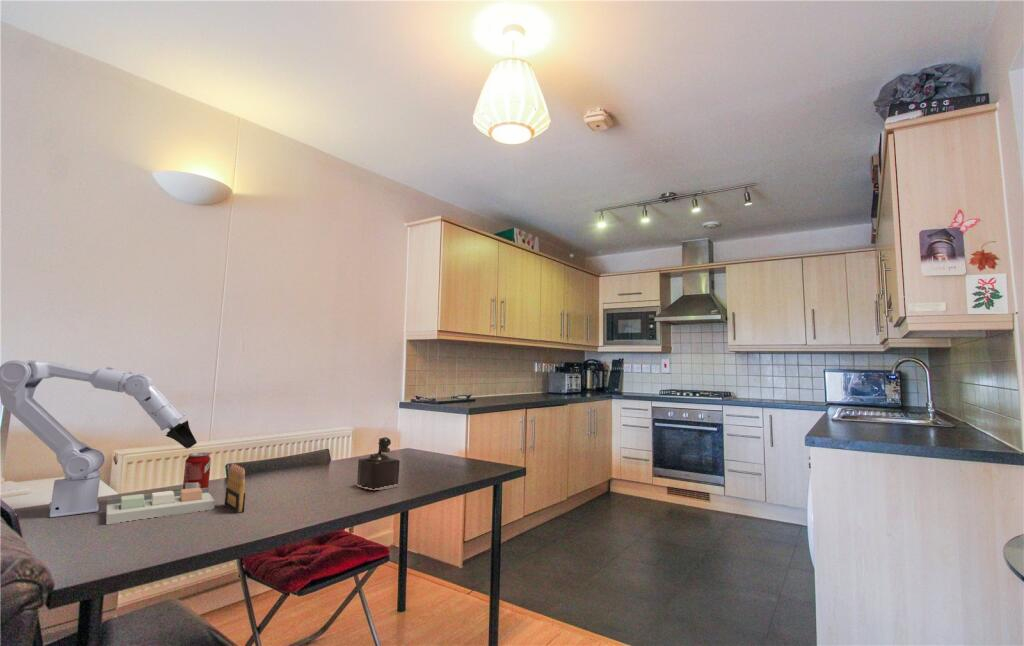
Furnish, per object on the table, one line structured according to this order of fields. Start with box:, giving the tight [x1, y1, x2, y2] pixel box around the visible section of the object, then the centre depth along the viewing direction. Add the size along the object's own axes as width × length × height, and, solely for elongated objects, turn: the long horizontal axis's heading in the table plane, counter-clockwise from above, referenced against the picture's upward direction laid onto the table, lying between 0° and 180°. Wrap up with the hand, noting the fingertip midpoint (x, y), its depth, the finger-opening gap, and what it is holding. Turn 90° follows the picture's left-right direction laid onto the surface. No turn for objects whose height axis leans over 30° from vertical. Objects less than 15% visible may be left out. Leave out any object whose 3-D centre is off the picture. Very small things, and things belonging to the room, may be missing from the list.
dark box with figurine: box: [356, 436, 401, 489], centre depth 162 cm, size 16×11×18 cm
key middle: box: [151, 490, 174, 506], centre depth 130 cm, size 5×5×3 cm
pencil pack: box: [223, 462, 246, 514], centre depth 134 cm, size 11×2×12 cm, turn 47°
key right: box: [179, 488, 202, 502], centre depth 134 cm, size 5×5×3 cm
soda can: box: [182, 452, 212, 489], centre depth 149 cm, size 7×7×12 cm
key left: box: [120, 493, 145, 510], centre depth 125 cm, size 5×5×3 cm
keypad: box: [105, 487, 216, 525], centre depth 129 cm, size 23×12×4 cm, turn 131°
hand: (192, 446), depth 139 cm, fingers open, 7 cm apart
